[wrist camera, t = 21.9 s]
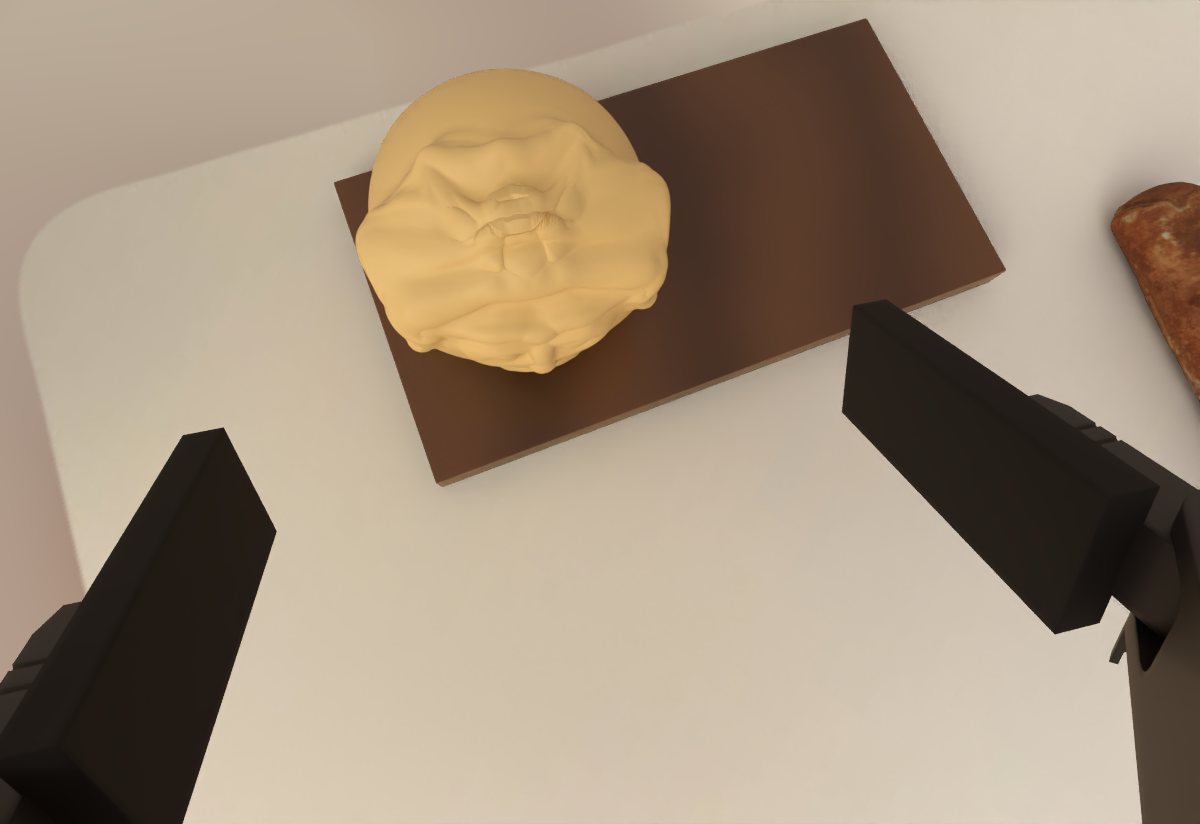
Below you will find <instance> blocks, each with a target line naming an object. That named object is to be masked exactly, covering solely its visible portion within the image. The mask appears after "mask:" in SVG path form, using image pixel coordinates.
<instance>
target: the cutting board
mask: <svg viewBox="0 0 1200 824" xmlns="http://www.w3.org/2000/svg"><path fill="white" fill-rule="evenodd" d="M597 102H598V103H599V104H600V105H601V106H602V107H603V108H604V109H605V110H606V111H607V112H608V113H609V114H610V115H611V116H612V117H613V118H614V120H615V121H616V122H617V123H618V125H619V126H620V127H621V129H622V130H623V132H624V133H625V135H626V136H627V138H628V140H629V141H630V143H631V145H632V147H633V149H634V151H635V153H636V155H637V158H638V160H639V162H642V163H644V164H646V165H648V166H649V167H650V168H651V169H652V170H654V171H655V172H657V173H658V174H659V175H660V176H661V177H662V178H663V179H664V181H665V182H666V184H667V187H668V190H669V194H670V203H671V213H670V229H669V240H668V246H667V257H668V268H667V274H666V278H665V280H664V283H663V284H662V286H661V288H660V289H659V291H658V292H657V298H656V301H655V302H654V304H653V305H652V306H651V307H649V308H647V309H635V310H633V311H632V312H631V313H630V314H629V315H628V316H627V317H626V318H624V319H623V320H622V321H621V322H620V323H619V324H617V325H616V326H615V327H613V328H612V329H611V330H609V332H608V333H607V334H606V335H605V336H604V337H603V338H602V339H601V340H600V341H598V342H597V343H596V344H594V345H592V346H591V347H589V348H587V349H585V350H583V351H581V352H580V353H579V354H578V355H577V356H576V357H574V358H573V359H571V360H569V361H567V362H566V363H564V364H562V365H559V366H556V367H555V368H554V369H553V370H552V371H550V372H548V373H543V374H540V373H536V372H534V371H532V372H518V371H509V370H505V369H503V368H501V367H497V366H489V365H485V364H481V363H479V362H476V361H474V360H470V359H466V358H461V357H458V356H454V355H451V354H448V353H445V352H443V351H440V350H438V349H431V350H430V351H428V352H417V351H415V350H413V349H412V348H411V347H410V346H409V344H408V342H407V340H406V339H405V338H404V337H402V336H401V335H400V334H399V333H398V332H397V331H396V330H395V329H394V327H393V326H392V324H391V323H390V321H389V319H388V317H387V315H386V312H385V307H384V305H383V303H382V302H381V301H380V299H379V297H378V296H377V294H376V292H375V290H374V288H373V286H372V284H371V282H370V280H369V278H368V276H367V275H366V273H365V271H364V273H365V276H366V279H367V282H368V285H369V288H370V291H371V294H372V297H373V300H374V302H375V305H376V308H377V311H378V314H379V317H380V320H381V323H382V326H383V329H384V332H385V335H386V338H387V341H388V343H389V346H390V349H391V352H392V355H393V358H394V361H395V364H396V367H397V370H398V373H399V376H400V379H401V382H402V385H403V387H404V390H405V393H406V396H407V399H408V402H409V405H410V408H411V411H412V414H413V417H414V420H415V423H416V426H417V428H418V431H419V434H420V437H421V440H422V443H423V446H424V449H425V452H426V455H427V458H428V461H429V464H430V467H431V470H432V472H433V475H434V478H435V481H436V483H437V484H439V485H440V486H442V487H444V486H447V485H449V484H452V483H455V482H457V481H460V480H463V479H465V478H468V477H471V476H473V475H476V474H479V473H481V472H484V471H487V470H489V469H492V468H495V467H497V466H500V465H503V464H505V463H508V462H511V461H513V460H516V459H519V458H521V457H524V456H527V455H529V454H532V453H535V452H537V451H540V450H543V449H545V448H548V447H550V446H553V445H556V444H558V443H561V442H564V441H566V440H569V439H572V438H574V437H577V436H580V435H582V434H585V433H588V432H590V431H593V430H596V429H598V428H601V427H604V426H606V425H609V424H612V423H614V422H617V421H620V420H622V419H625V418H628V417H630V416H633V415H636V414H638V413H641V412H644V411H646V410H649V409H652V408H654V407H657V406H660V405H662V404H665V403H668V402H670V401H673V400H676V399H678V398H681V397H684V396H686V395H689V394H692V393H694V392H697V391H700V390H702V389H705V388H708V387H710V386H713V385H716V384H718V383H721V382H724V381H726V380H729V379H732V378H734V377H737V376H740V375H742V374H745V373H748V372H750V371H753V370H756V369H758V368H761V367H764V366H766V365H769V364H772V363H774V362H777V361H780V360H782V359H785V358H788V357H790V356H793V355H796V354H798V353H801V352H804V351H806V350H809V349H812V348H814V347H817V346H820V345H822V344H825V343H828V342H830V341H833V340H836V339H838V338H841V337H844V336H846V335H849V334H850V328H851V318H852V309H853V305H858V304H863V303H868V302H874V301H879V300H884V299H887V300H888V301H889V302H891V303H892V304H894V305H895V306H897V307H898V308H900V309H901V310H903V311H904V312H906V313H907V312H910V311H913V310H915V309H918V308H921V307H923V306H926V305H929V304H931V303H934V302H937V301H939V300H942V299H945V298H947V297H950V296H953V295H955V294H958V293H961V292H963V291H966V290H969V289H971V288H974V287H977V286H979V285H982V284H985V283H987V282H989V281H991V280H992V279H994V278H995V277H997V276H998V275H1000V274H1001V273H1003V272H1004V271H1005V270H1006V269H1005V267H1004V265H1003V264H1002V262H1001V260H1000V258H999V256H998V255H997V253H996V251H995V249H994V247H993V246H992V244H991V242H990V240H989V238H988V236H987V235H986V233H985V231H984V229H983V227H982V226H981V224H980V222H979V220H978V218H977V217H976V215H975V213H974V211H973V209H972V208H971V206H970V204H969V202H968V200H967V199H966V197H965V195H964V193H963V191H962V190H961V188H960V186H959V184H958V182H957V181H956V179H955V177H954V175H953V173H952V172H951V170H950V168H949V166H948V164H947V163H946V161H945V159H944V157H943V155H942V154H941V152H940V150H939V148H938V146H937V145H936V143H935V141H934V139H933V137H932V135H931V134H930V132H929V130H928V128H927V126H926V125H925V123H924V121H923V119H922V117H921V116H920V114H919V112H918V110H917V108H916V107H915V105H914V103H913V101H912V99H911V98H910V96H909V94H908V92H907V90H906V89H905V87H904V85H903V83H902V81H901V80H900V78H899V76H898V74H897V72H896V71H895V69H894V67H893V65H892V63H891V62H890V60H889V58H888V56H887V54H886V53H885V51H884V49H883V47H882V45H881V44H880V42H879V40H878V38H877V36H876V34H875V33H874V31H873V29H872V27H871V25H870V24H869V22H868V20H867V19H862V20H859V21H856V22H853V23H849V24H846V25H843V26H840V27H836V28H833V29H830V30H827V31H823V32H820V33H817V34H814V35H810V36H807V37H804V38H801V39H797V40H794V41H791V42H788V43H784V44H781V45H778V46H775V47H772V48H768V49H765V50H762V51H759V52H755V53H752V54H749V55H746V56H742V57H739V58H736V59H733V60H729V61H726V62H723V63H720V64H716V65H713V66H710V67H707V68H703V69H700V70H697V71H694V72H690V73H687V74H684V75H681V76H677V77H674V78H671V79H668V80H664V81H661V82H658V83H655V84H652V85H648V86H645V87H642V88H639V89H635V90H632V91H629V92H626V93H622V94H619V95H616V96H613V97H609V98H606V99H603V100H600V101H597ZM371 175H372V171H369V172H366V173H363V174H360V175H356V176H353V177H350V178H347V179H343V180H340V181H337V182H334V185H335V188H336V191H337V194H338V197H339V200H340V203H341V206H342V209H343V212H344V215H345V217H346V220H347V223H348V226H349V229H350V232H351V235H352V238H353V241H354V244H355V247H356V234H357V231H358V228H359V226H360V225H361V223H362V222H363V220H364V219H365V216H366V215H367V213H368V199H369V187H370V180H371ZM362 267H363V266H362ZM363 270H364V269H363Z"/></svg>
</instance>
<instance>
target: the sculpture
mask: <svg viewBox="0 0 1200 824" xmlns="http://www.w3.org/2000/svg"><path fill="white" fill-rule="evenodd" d="M670 213H671V203H670V194H669V190H668V187H667V184H666V182H665V181H664V179H663V178H662V177H661V176H660V175H659V174H658V173H657V172H655V171H654V170H652V169H651V168H650V167H649V166H648V165H646V164H644V163H642V162H639V160H638V158H637V155H636V153H635V151H634V149H633V147H632V145H631V143H630V141H629V140H628V138H627V136H626V135H625V133H624V132H623V130H622V129H621V127H620V126H619V125H618V123H617V122H616V121H615V120H614V118H613V117H612V116H611V115H610V114H609V113H608V112H607V111H606V110H605V109H604V108H603V107H602V106H601V105H600V104H599V103H598V102H597V101H596V100H595V99H593V98H592V97H591V96H589V95H588V94H587V93H585V92H584V91H582V90H581V89H579V88H577V87H575V86H574V85H572V84H570V83H568V82H565V81H563V80H561V79H558V78H555V77H552V76H549V75H546V74H542V73H538V72H533V71H527V70H519V69H490V70H483V71H477V72H473V73H470V74H466V75H462V76H459V77H456V78H454V79H451V80H449V81H447V82H445V83H443V84H441V85H439V86H437V87H435V88H433V89H432V90H430V91H428V92H427V93H425V94H424V95H422V97H420V98H418V99H417V100H416V101H415V102H413V103H412V104H411V105H410V106H409V107H408V108H407V109H406V110H405V111H404V112H403V113H402V114H401V115H400V116H399V118H398V119H397V120H396V121H395V123H394V124H393V125H392V127H391V128H390V130H389V132H388V133H387V135H386V137H385V139H384V140H383V143H382V145H381V147H380V149H379V152H378V154H377V157H376V160H375V163H374V167H373V171H372V175H371V180H370V187H369V199H368V213H367V215H366V216H365V219H364V220H363V222H362V223H361V225H360V226H359V228H358V231H357V234H356V250H357V254H358V257H359V259H360V262H361V264H362V266H363V269H364V271H365V273H366V275H367V276H368V278H369V280H370V282H371V284H372V286H373V288H374V290H375V292H376V294H377V296H378V297H379V299H380V301H381V302H382V303H383V305H384V307H385V312H386V315H387V317H388V319H389V321H390V323H391V324H392V326H393V327H394V329H395V330H396V331H397V332H398V333H399V334H400V335H401V336H402V337H404V338H405V339H406V340H407V342H408V344H409V346H410V347H411V348H412V349H413V350H415V351H417V352H428V351H430V350H431V349H438V350H440V351H443V352H445V353H448V354H451V355H454V356H458V357H461V358H466V359H470V360H474V361H476V362H479V363H481V364H485V365H489V366H497V367H501V368H503V369H505V370H509V371H518V372H532V371H534V372H536V373H540V374H543V373H548V372H550V371H552V370H553V369H554V368H555V367H556V366H559V365H562V364H564V363H566V362H567V361H569V360H571V359H573V358H574V357H576V356H577V355H578V354H579V353H580V352H581V351H583V350H585V349H587V348H589V347H591V346H592V345H594V344H596V343H597V342H598V341H600V340H601V339H602V338H603V337H604V336H605V335H606V334H607V333H608V332H609V330H611V329H612V328H613V327H615V326H616V325H617V324H619V323H620V322H621V321H622V320H623V319H624V318H626V317H627V316H628V315H629V314H630V313H631V312H632V311H633V310H635V309H647V308H649V307H651V306H652V305H653V304H654V302H655V301H656V298H657V292H658V291H659V289H660V288H661V286H662V284H663V283H664V280H665V278H666V274H667V268H668V257H667V246H668V240H669V229H670Z"/></svg>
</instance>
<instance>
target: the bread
mask: <svg viewBox="0 0 1200 824" xmlns="http://www.w3.org/2000/svg"><path fill="white" fill-rule="evenodd" d="M1111 230H1112V232H1113V234H1114V236H1115V238H1116V240H1117V242H1118V244H1119V245H1120V247H1121V249H1122V251H1123V252H1124V254H1125V256H1126V259H1127V261H1128V262H1129V264H1130V266H1131V268H1132V270H1133V272H1134V274H1135V276H1136V278H1137V280H1138V282H1139V284H1140V287H1141V289H1142V291H1143V293H1144V295H1145V298H1146V301H1147V303H1148V305H1149V307H1150V309H1151V311H1152V313H1153V315H1154V317H1155V319H1156V321H1157V323H1158V325H1159V327H1160V329H1161V331H1162V333H1163V335H1164V337H1165V339H1166V341H1167V343H1168V345H1169V346H1170V348H1171V350H1172V351H1173V353H1174V354H1175V356H1176V358H1177V360H1178V362H1179V364H1180V366H1181V368H1182V370H1183V372H1184V374H1185V376H1186V378H1187V379H1188V381H1189V383H1190V384H1191V386H1192V388H1193V391H1194V393H1195V395H1196V396H1197V398H1198V399H1199V401H1200V186H1198V185H1194V184H1192V183H1185V182H1175V183H1168V184H1163V185H1159V186H1156V187H1153V188H1151V189H1148V190H1146V191H1144V192H1142V193H1140V194H1138V195H1137V196H1135V197H1133V198H1132V199H1131V200H1129V201H1128V202H1127V203H1125V204H1124V205H1122V206H1121V207H1119V208H1118V210H1117V211H1116V213H1115V214H1114V217H1113V221H1112V223H1111Z"/></svg>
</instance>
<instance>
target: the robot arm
mask: <svg viewBox="0 0 1200 824" xmlns="http://www.w3.org/2000/svg"><path fill="white" fill-rule="evenodd" d="M842 413H843V414H844V415H845V416H846V417H847V418H848V419H849V420H850V421H851V422H852V423H853V424H854V425H855V426H856V427H857V428H858V429H859V430H860V431H861V433H862V434H863V435H864V436H865V437H866V438H867V439H868V440H869V441H870V442H871V443H872V444H873V445H874V446H875V447H876V448H877V449H878V450H879V451H880V452H881V453H882V454H883V456H884V457H885V458H886V459H887V460H888V461H889V462H890V463H891V464H892V465H893V466H894V467H895V468H896V469H897V470H898V471H899V472H900V473H901V474H902V475H903V476H904V477H905V478H906V480H907V481H908V482H909V483H910V484H911V485H912V486H913V487H914V488H915V489H916V490H917V491H918V492H919V493H920V494H921V495H922V496H923V497H924V498H925V499H926V500H927V501H928V503H929V504H930V505H931V506H932V507H933V508H934V509H935V510H936V511H937V512H938V513H939V514H940V515H941V516H942V517H943V518H944V519H945V520H946V521H947V522H948V523H949V524H950V525H951V527H952V528H953V529H954V530H955V531H956V532H957V533H958V534H959V535H960V536H961V537H962V538H963V539H964V540H965V541H966V542H967V543H968V544H969V545H970V546H971V547H972V548H973V549H974V551H975V552H976V553H977V554H978V555H979V556H980V557H981V558H982V559H983V560H984V561H985V562H986V563H987V564H988V565H989V566H990V567H991V568H992V569H993V570H994V571H995V572H996V574H997V575H998V576H999V577H1000V578H1001V579H1002V580H1003V581H1004V582H1005V583H1006V584H1007V585H1008V586H1009V587H1010V588H1011V589H1012V590H1013V591H1014V592H1015V593H1016V594H1017V595H1018V596H1019V598H1020V599H1021V600H1022V601H1023V602H1024V603H1025V604H1026V605H1027V606H1028V607H1029V608H1030V609H1031V610H1032V611H1033V612H1034V613H1035V614H1036V615H1037V616H1038V617H1039V618H1040V619H1041V620H1042V622H1043V623H1044V624H1045V625H1046V626H1047V627H1048V628H1049V629H1050V630H1051V631H1052V632H1053V633H1054V634H1058V633H1062V632H1066V631H1070V630H1074V629H1078V628H1082V627H1086V626H1090V625H1094V624H1097V623H1100V621H1101V618H1102V616H1103V614H1104V612H1105V609H1106V607H1107V605H1108V603H1109V600H1110V598H1111V596H1114V597H1115V598H1116V599H1117V600H1118V601H1119V602H1120V603H1121V604H1122V605H1124V606H1125V607H1126V608H1127V609H1128V610H1129V611H1130V614H1129V616H1128V618H1127V620H1126V622H1125V625H1124V627H1123V629H1122V631H1121V633H1120V635H1119V637H1118V639H1117V641H1116V643H1115V645H1114V648H1113V650H1112V652H1111V656H1110V660H1109V662H1112V663H1115V664H1118V663H1119V661H1120V659H1121V657H1122V655H1123V653H1124V652H1127V663H1128V674H1129V685H1130V695H1131V706H1132V717H1133V728H1134V738H1135V749H1136V760H1137V771H1138V781H1139V792H1140V803H1141V814H1142V824H1200V490H1197V489H1196V488H1194V487H1193V486H1191V485H1190V484H1188V483H1187V482H1185V481H1184V480H1182V479H1181V478H1179V477H1177V476H1176V475H1174V474H1173V473H1171V472H1170V471H1168V470H1167V469H1165V468H1164V467H1162V466H1161V465H1159V464H1158V463H1156V462H1155V461H1153V460H1151V459H1150V458H1148V457H1147V456H1145V455H1144V454H1142V453H1141V452H1139V451H1138V450H1136V449H1135V448H1133V447H1132V446H1130V445H1128V444H1127V443H1125V442H1124V441H1122V440H1120V441H1118V440H1117V439H1116V436H1115V435H1113V434H1112V433H1110V432H1109V431H1107V430H1105V429H1104V428H1102V427H1101V426H1100V427H1096V425H1095V422H1093V421H1092V420H1090V419H1089V418H1087V417H1086V416H1084V415H1082V414H1081V413H1079V412H1078V411H1076V410H1075V409H1073V408H1072V407H1070V406H1068V405H1065V404H1062V403H1060V402H1057V401H1054V400H1052V399H1049V398H1046V397H1044V396H1041V395H1038V394H1036V395H1031V396H1027V395H1026V394H1024V393H1023V392H1022V391H1020V390H1019V389H1017V388H1016V387H1014V386H1013V385H1011V384H1010V383H1008V382H1007V381H1005V380H1004V379H1002V378H1001V377H1000V376H998V375H997V374H995V373H994V372H992V371H991V370H989V369H988V368H986V367H985V366H983V365H982V364H980V363H979V362H978V361H976V360H975V359H973V358H972V357H970V356H969V355H967V354H966V353H964V352H963V351H961V350H960V349H958V348H957V347H956V346H954V345H953V344H951V343H950V342H948V341H947V340H945V339H944V338H942V337H941V336H939V335H938V334H936V333H935V332H933V331H932V330H931V329H929V328H928V327H926V326H925V325H923V324H922V323H920V322H919V321H917V320H916V319H914V318H913V317H911V316H910V315H909V314H907V313H906V312H904V311H903V310H901V309H900V308H898V307H897V306H895V305H894V304H892V303H891V302H889V301H888V300H887V299H884V300H879V301H874V302H868V303H863V304H858V305H853V309H852V318H851V328H850V338H849V348H848V358H847V368H846V377H845V387H844V397H843V407H842ZM276 532H277V531H276V529H275V527H274V525H273V523H272V521H271V519H270V517H269V515H268V513H267V511H266V509H265V507H264V505H263V504H262V502H261V500H260V498H259V496H258V494H257V492H256V490H255V488H254V486H253V484H252V482H251V480H250V478H249V476H248V474H247V472H246V470H245V468H244V466H243V464H242V462H241V461H240V459H239V457H238V455H237V453H236V451H235V449H234V447H233V445H232V443H231V441H230V439H229V437H228V435H227V433H226V431H225V429H224V427H223V428H218V429H213V430H208V431H203V432H198V433H193V434H187V435H183V436H182V438H181V439H180V441H179V443H178V444H177V446H176V447H175V449H174V451H173V452H172V454H171V456H170V457H169V459H168V461H167V462H166V464H165V466H164V467H163V469H162V470H161V472H160V474H159V475H158V477H157V479H156V480H155V482H154V484H153V485H152V487H151V489H150V490H149V492H148V493H147V495H146V497H145V498H144V500H143V502H142V503H141V505H140V507H139V508H138V510H137V512H136V513H135V515H134V516H133V518H132V520H131V521H130V523H129V525H128V526H127V528H126V530H125V531H124V533H123V534H122V536H121V538H120V539H119V541H118V543H117V544H116V546H115V548H114V549H113V551H112V553H111V554H110V556H109V557H108V559H107V561H106V562H105V564H104V566H103V567H102V569H101V571H100V572H99V574H98V576H97V577H96V579H95V580H94V582H93V584H92V585H91V587H90V589H89V590H88V592H87V594H86V595H85V597H84V599H83V600H82V602H77V603H72V604H68V605H63V606H62V607H61V608H60V609H59V610H58V611H57V612H56V613H55V614H54V615H53V616H52V617H51V618H50V619H49V620H47V621H46V622H45V623H44V624H43V625H42V626H41V627H40V628H39V629H38V630H37V631H36V632H35V633H34V634H32V636H31V638H30V639H29V640H28V642H27V644H26V645H25V647H24V648H23V650H22V651H21V653H20V654H19V656H18V657H17V659H16V660H15V662H14V663H13V670H12V671H8V673H7V674H6V676H5V677H4V679H3V680H2V682H1V683H0V824H183V821H184V817H185V814H186V811H187V808H188V805H189V802H190V799H191V796H192V793H193V790H194V786H195V783H196V780H197V777H198V774H199V771H200V768H201V765H202V762H203V759H204V755H205V752H206V749H207V746H208V743H209V740H210V737H211V734H212V731H213V727H214V724H215V721H216V718H217V715H218V712H219V709H220V706H221V703H222V700H223V696H224V693H225V690H226V687H227V684H228V681H229V678H230V675H231V672H232V669H233V665H234V662H235V659H236V656H237V653H238V650H239V647H240V644H241V641H242V637H243V634H244V631H245V628H246V625H247V622H248V619H249V616H250V613H251V610H252V606H253V603H254V600H255V597H256V594H257V591H258V588H259V585H260V582H261V579H262V575H263V572H264V569H265V566H266V563H267V560H268V557H269V554H270V551H271V547H272V544H273V541H274V538H275V535H276Z"/></svg>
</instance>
